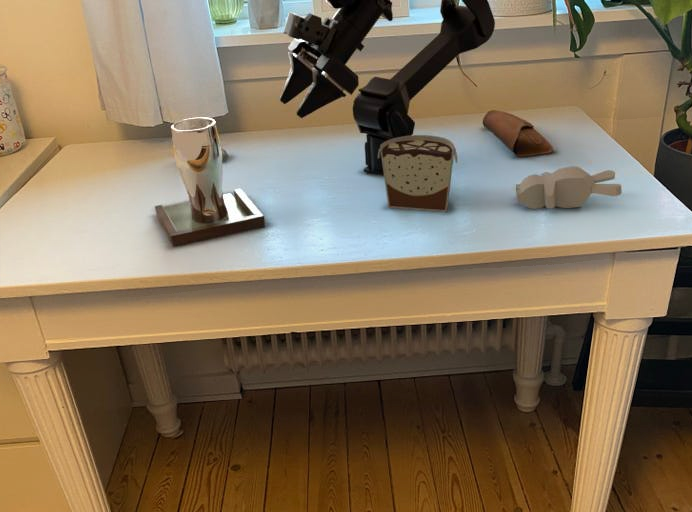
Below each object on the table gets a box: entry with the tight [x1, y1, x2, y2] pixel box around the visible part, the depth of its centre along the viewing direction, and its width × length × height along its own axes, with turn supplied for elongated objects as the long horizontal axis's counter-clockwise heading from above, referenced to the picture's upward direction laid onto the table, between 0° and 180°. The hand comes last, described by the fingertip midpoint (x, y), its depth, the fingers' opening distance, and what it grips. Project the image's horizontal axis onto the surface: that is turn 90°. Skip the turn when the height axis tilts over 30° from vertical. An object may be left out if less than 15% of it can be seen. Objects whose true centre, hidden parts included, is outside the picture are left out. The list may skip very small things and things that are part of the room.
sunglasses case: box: [482, 109, 555, 158], centre depth 141 cm, size 18×7×7 cm
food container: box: [378, 134, 458, 213], centre depth 117 cm, size 12×6×10 cm, turn 71°
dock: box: [154, 188, 266, 248], centre depth 120 cm, size 16×14×2 cm
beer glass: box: [170, 117, 229, 226], centre depth 115 cm, size 7×7×15 cm
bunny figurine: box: [515, 166, 623, 210], centre depth 115 cm, size 10×5×15 cm
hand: (290, 109), depth 120 cm, fingers open, 9 cm apart
